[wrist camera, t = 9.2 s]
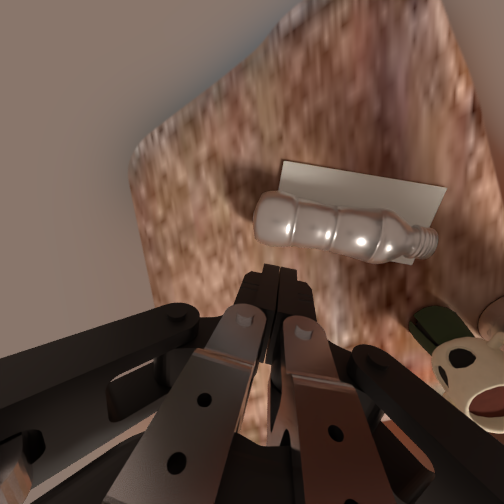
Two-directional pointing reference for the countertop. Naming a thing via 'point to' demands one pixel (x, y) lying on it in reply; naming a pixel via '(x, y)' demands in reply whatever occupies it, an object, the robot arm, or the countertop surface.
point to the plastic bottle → (340, 229)
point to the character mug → (464, 365)
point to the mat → (363, 193)
